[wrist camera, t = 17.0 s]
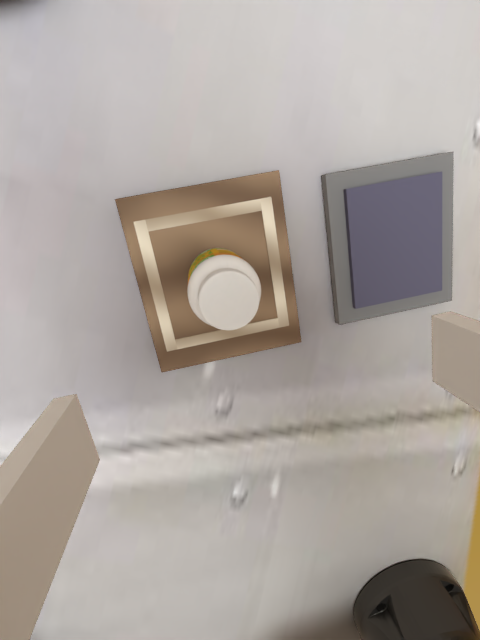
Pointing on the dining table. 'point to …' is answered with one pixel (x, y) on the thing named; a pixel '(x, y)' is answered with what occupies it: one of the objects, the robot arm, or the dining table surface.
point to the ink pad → (390, 236)
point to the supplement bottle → (223, 289)
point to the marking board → (196, 237)
